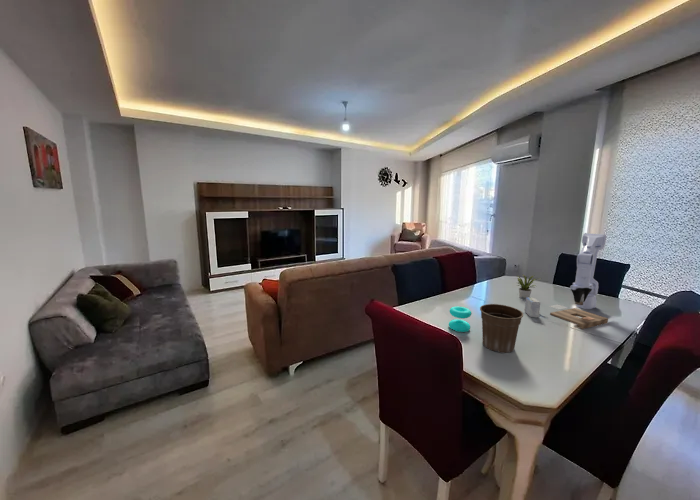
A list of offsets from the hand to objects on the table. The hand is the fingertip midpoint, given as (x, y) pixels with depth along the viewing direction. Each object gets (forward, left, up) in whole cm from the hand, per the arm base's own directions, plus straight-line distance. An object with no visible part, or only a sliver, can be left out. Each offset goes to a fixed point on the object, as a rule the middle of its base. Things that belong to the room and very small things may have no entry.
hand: (579, 301), depth 150 cm
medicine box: (+16, -14, -10) cm, 23 cm away
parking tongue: (-6, -14, -10) cm, 18 cm away
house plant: (-6, -34, -10) cm, 35 cm away
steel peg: (0, 0, -1) cm, 1 cm away
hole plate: (0, 0, -10) cm, 10 cm away
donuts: (+66, -14, -10) cm, 68 cm away
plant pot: (+63, +6, -10) cm, 64 cm away
